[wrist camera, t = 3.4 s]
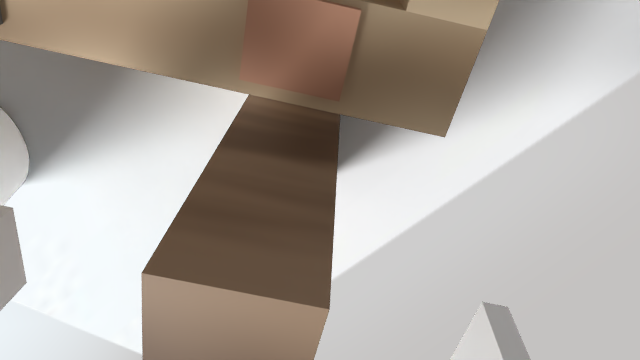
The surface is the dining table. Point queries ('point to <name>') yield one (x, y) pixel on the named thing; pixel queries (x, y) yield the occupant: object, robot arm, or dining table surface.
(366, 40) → the box
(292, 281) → the plug
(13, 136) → the cup
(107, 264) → the dining table surface
